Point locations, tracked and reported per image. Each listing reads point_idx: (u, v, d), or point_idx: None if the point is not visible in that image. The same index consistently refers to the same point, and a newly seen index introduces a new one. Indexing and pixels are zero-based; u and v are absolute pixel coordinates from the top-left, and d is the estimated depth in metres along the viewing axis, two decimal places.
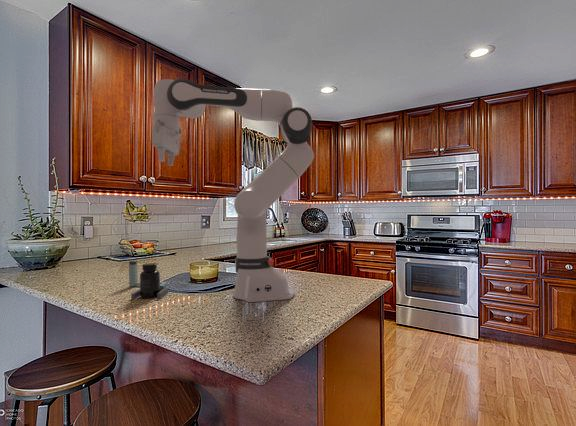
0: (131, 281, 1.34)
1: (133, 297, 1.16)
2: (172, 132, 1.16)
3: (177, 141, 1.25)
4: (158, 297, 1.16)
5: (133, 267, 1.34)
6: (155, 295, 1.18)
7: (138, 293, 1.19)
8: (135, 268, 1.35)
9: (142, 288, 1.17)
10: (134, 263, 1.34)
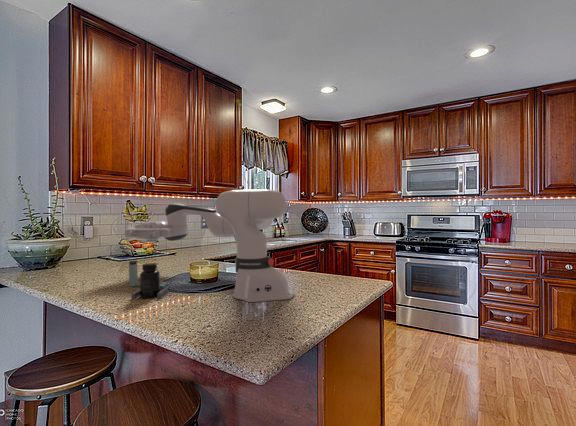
0: (131, 281, 1.34)
1: (133, 297, 1.16)
2: (155, 237, 1.53)
3: None
4: (158, 297, 1.16)
5: (133, 267, 1.34)
6: (155, 295, 1.18)
7: (138, 293, 1.19)
8: (135, 268, 1.35)
9: (142, 288, 1.17)
10: (134, 263, 1.34)
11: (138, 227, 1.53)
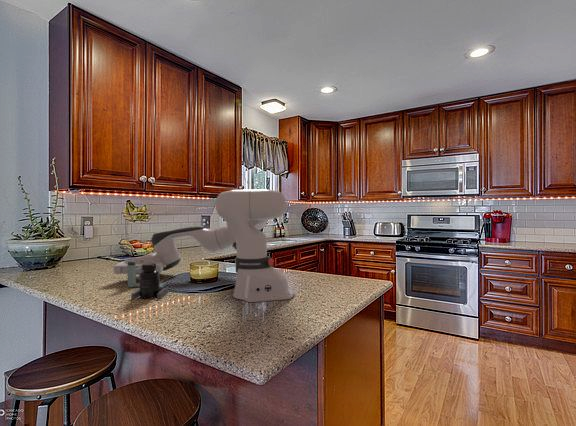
0: (129, 282, 1.33)
1: (133, 297, 1.16)
2: None
3: None
4: (158, 297, 1.16)
5: (131, 268, 1.32)
6: (154, 295, 1.18)
7: (138, 293, 1.19)
8: (133, 269, 1.33)
9: (141, 288, 1.17)
10: (132, 264, 1.33)
11: None
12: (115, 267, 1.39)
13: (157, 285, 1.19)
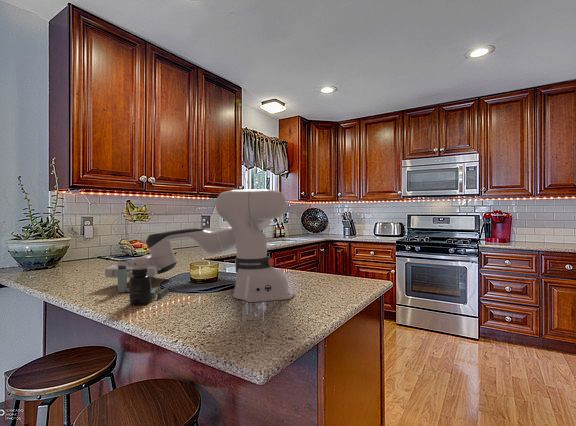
0: (120, 287, 1.25)
1: None
2: None
3: None
4: (158, 297, 1.16)
5: (122, 272, 1.24)
6: (145, 302, 1.10)
7: None
8: (124, 273, 1.25)
9: (131, 295, 1.08)
10: (123, 267, 1.25)
11: None
12: (106, 270, 1.31)
13: (148, 291, 1.11)
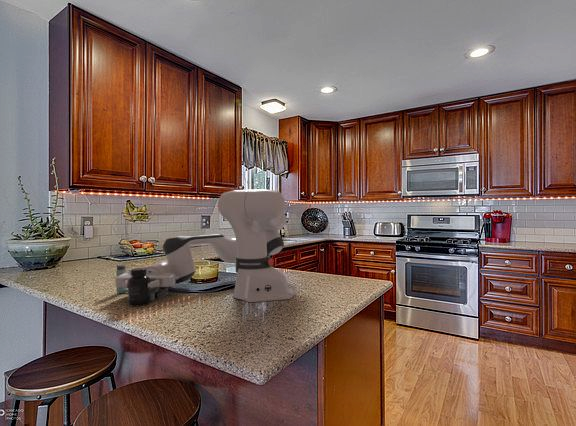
0: None
1: None
2: None
3: None
4: (158, 297, 1.16)
5: (121, 272, 1.24)
6: (144, 303, 1.09)
7: None
8: None
9: (130, 295, 1.08)
10: (122, 268, 1.24)
11: None
12: (117, 279, 1.14)
13: (147, 292, 1.10)
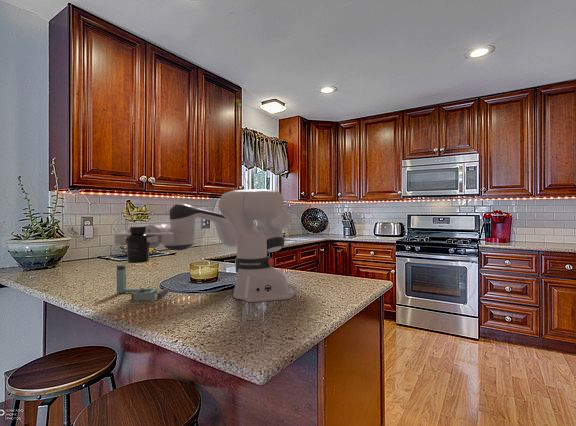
0: (119, 287, 1.24)
1: None
2: (153, 244, 1.20)
3: None
4: (158, 297, 1.16)
5: (121, 272, 1.24)
6: (143, 260, 1.08)
7: None
8: (123, 273, 1.24)
9: (129, 252, 1.07)
10: (122, 268, 1.24)
11: None
12: (116, 236, 1.13)
13: (146, 249, 1.09)
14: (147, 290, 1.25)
